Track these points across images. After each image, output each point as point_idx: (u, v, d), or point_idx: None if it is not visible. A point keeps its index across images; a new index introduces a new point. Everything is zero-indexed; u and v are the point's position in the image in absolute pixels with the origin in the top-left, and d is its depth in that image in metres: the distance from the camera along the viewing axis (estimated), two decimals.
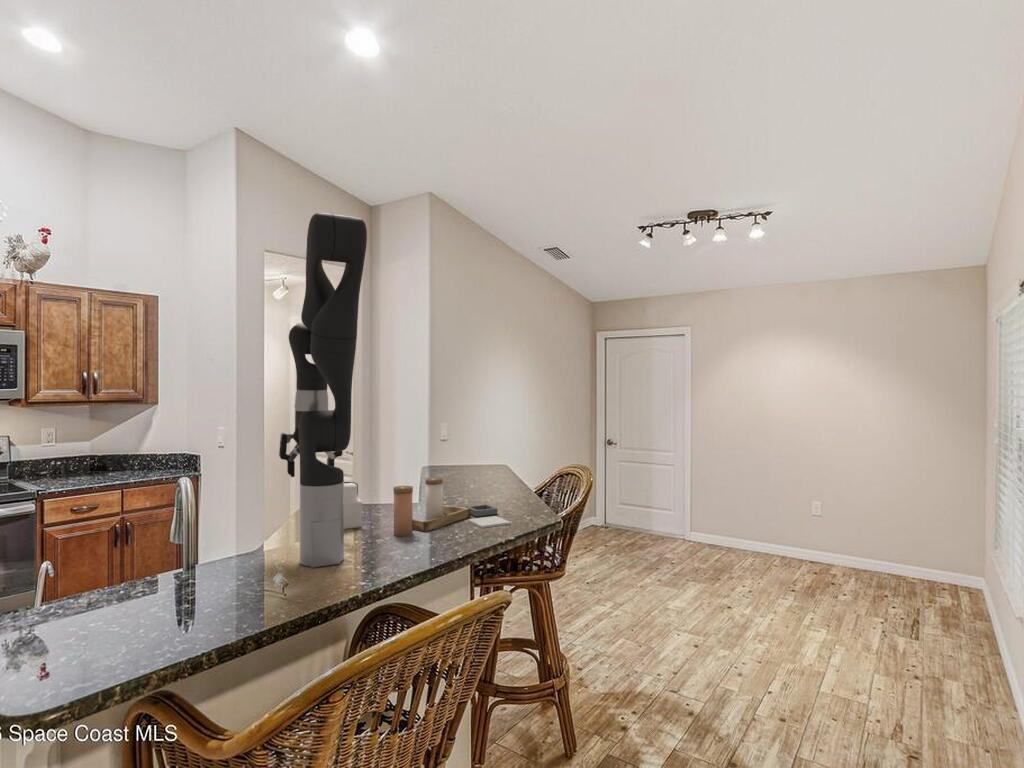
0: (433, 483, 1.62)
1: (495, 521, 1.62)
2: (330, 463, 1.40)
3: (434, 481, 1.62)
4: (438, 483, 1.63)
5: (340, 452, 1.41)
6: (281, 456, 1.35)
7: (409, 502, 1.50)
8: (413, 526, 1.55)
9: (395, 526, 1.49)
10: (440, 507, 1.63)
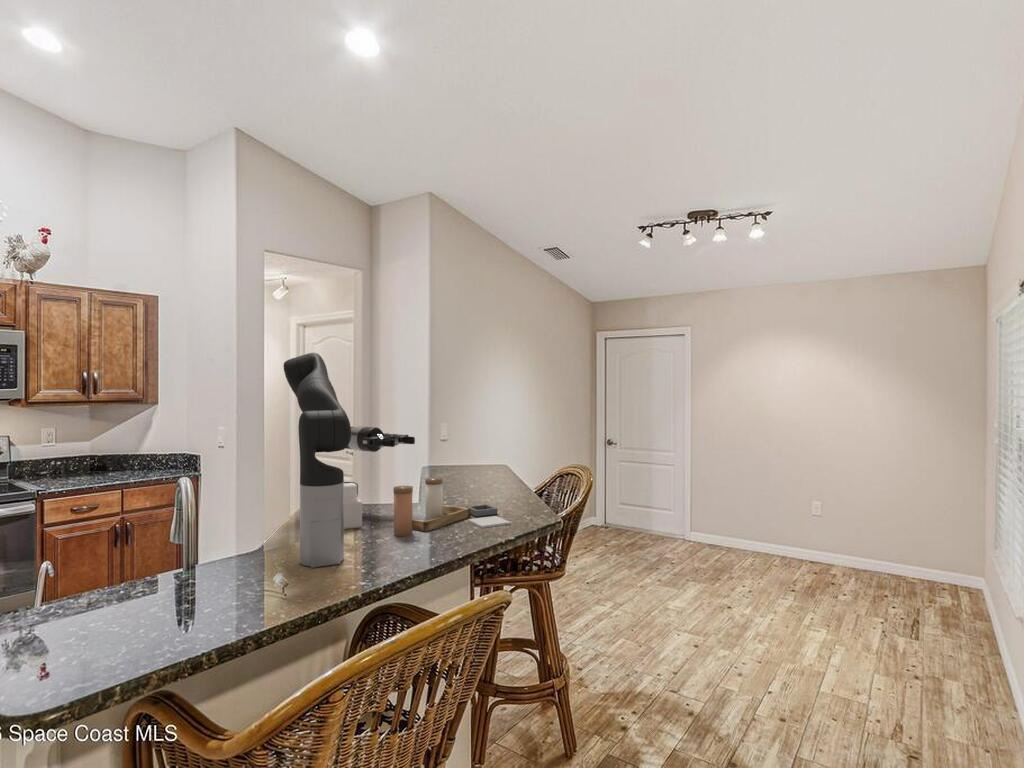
0: (433, 483, 1.62)
1: (495, 521, 1.62)
2: (407, 436, 1.76)
3: (434, 481, 1.62)
4: (438, 483, 1.63)
5: None
6: (374, 438, 1.67)
7: (409, 502, 1.50)
8: (413, 526, 1.55)
9: (395, 526, 1.49)
10: (440, 507, 1.63)
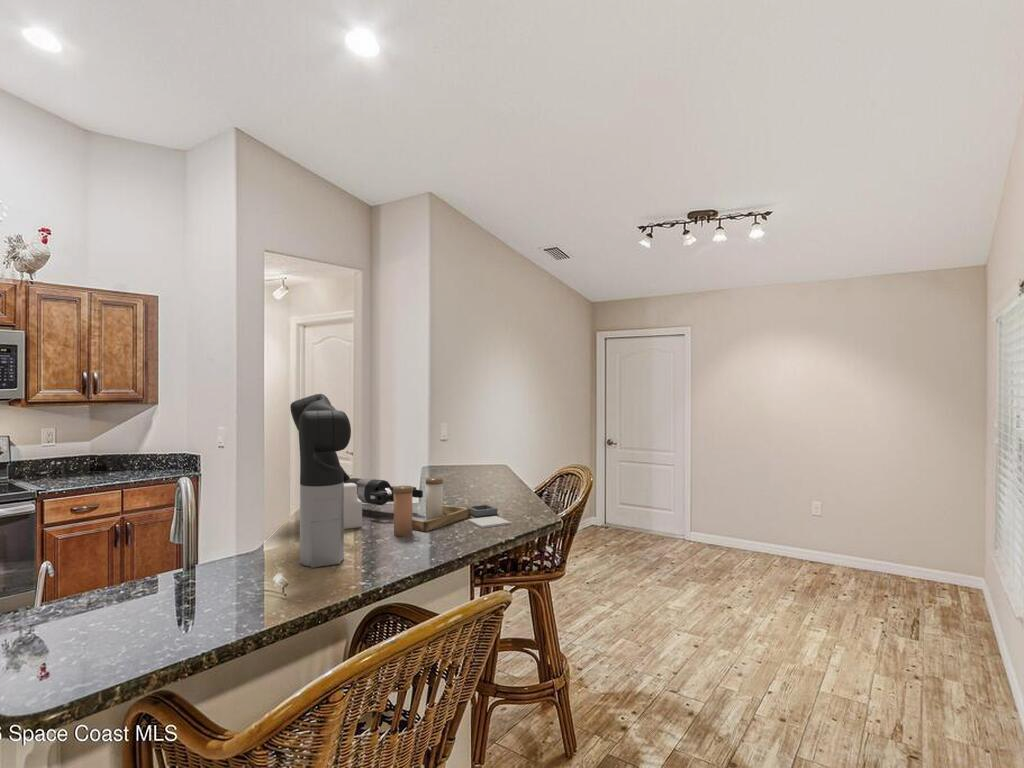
0: (433, 483, 1.62)
1: (495, 521, 1.62)
2: (415, 489, 1.74)
3: (434, 481, 1.62)
4: (438, 483, 1.63)
5: (413, 487, 1.77)
6: (382, 494, 1.66)
7: (409, 502, 1.50)
8: (413, 526, 1.55)
9: (395, 526, 1.49)
10: (440, 507, 1.63)
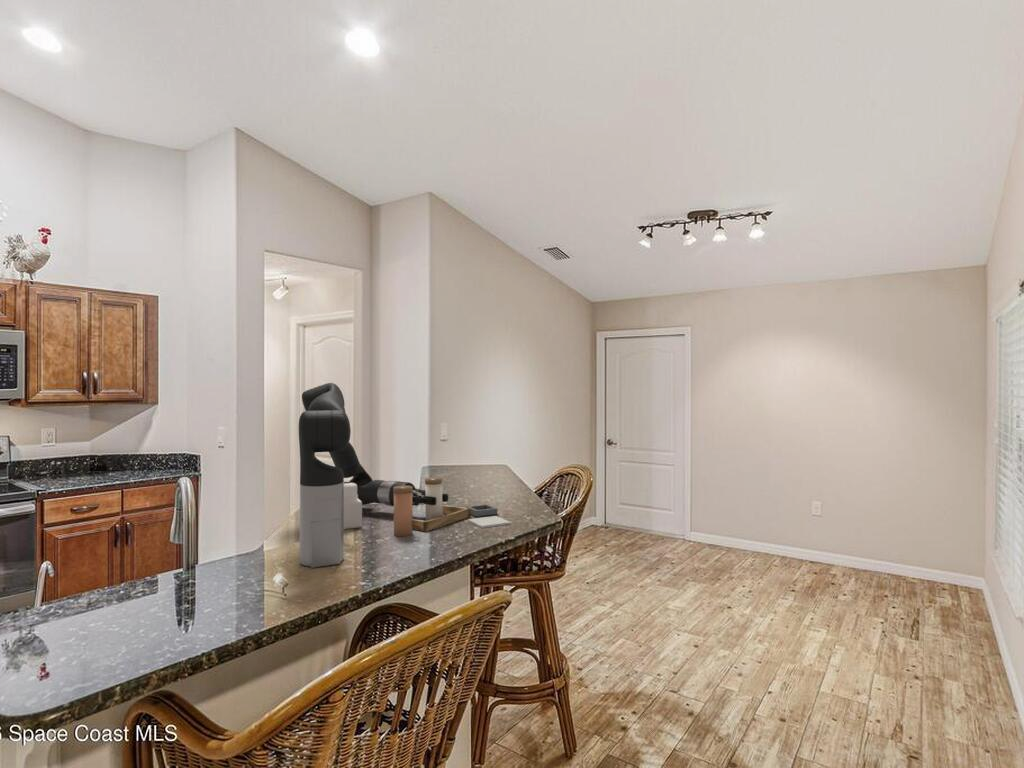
0: (433, 483, 1.62)
1: (495, 521, 1.62)
2: None
3: (434, 481, 1.62)
4: (438, 483, 1.63)
5: None
6: (415, 496, 1.61)
7: (409, 502, 1.50)
8: (413, 526, 1.55)
9: (395, 526, 1.49)
10: (440, 507, 1.63)
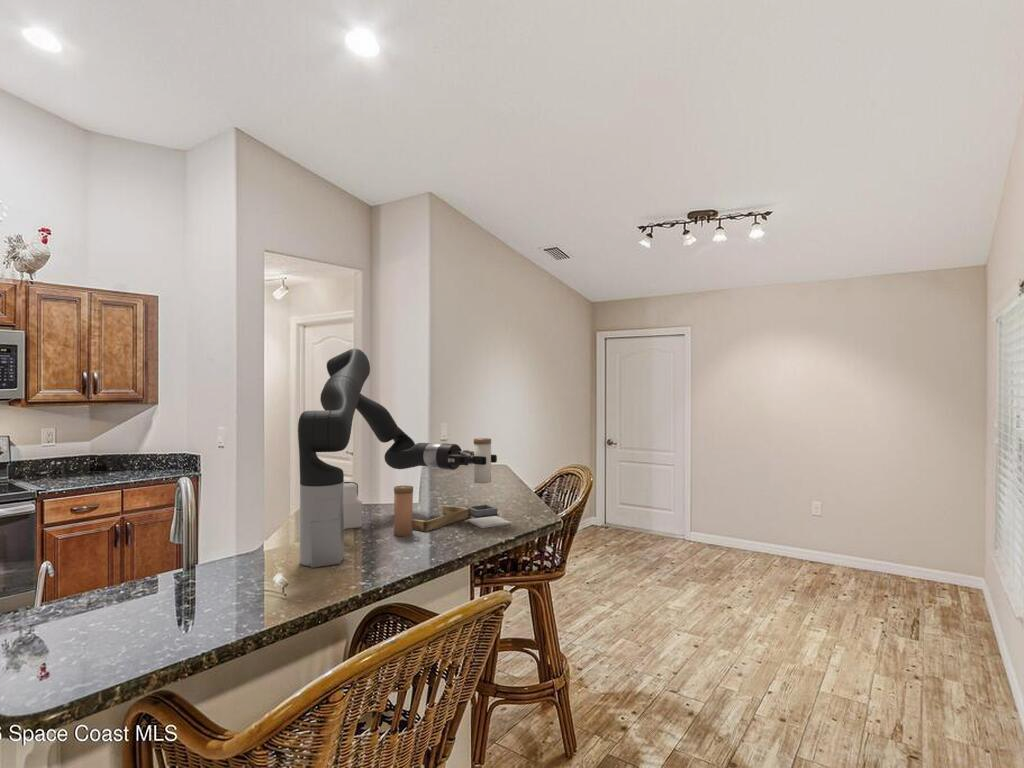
0: (482, 443, 1.61)
1: (495, 521, 1.62)
2: None
3: (483, 441, 1.61)
4: (487, 443, 1.62)
5: None
6: (465, 456, 1.60)
7: (410, 502, 1.50)
8: (413, 526, 1.55)
9: (395, 526, 1.49)
10: (489, 467, 1.62)
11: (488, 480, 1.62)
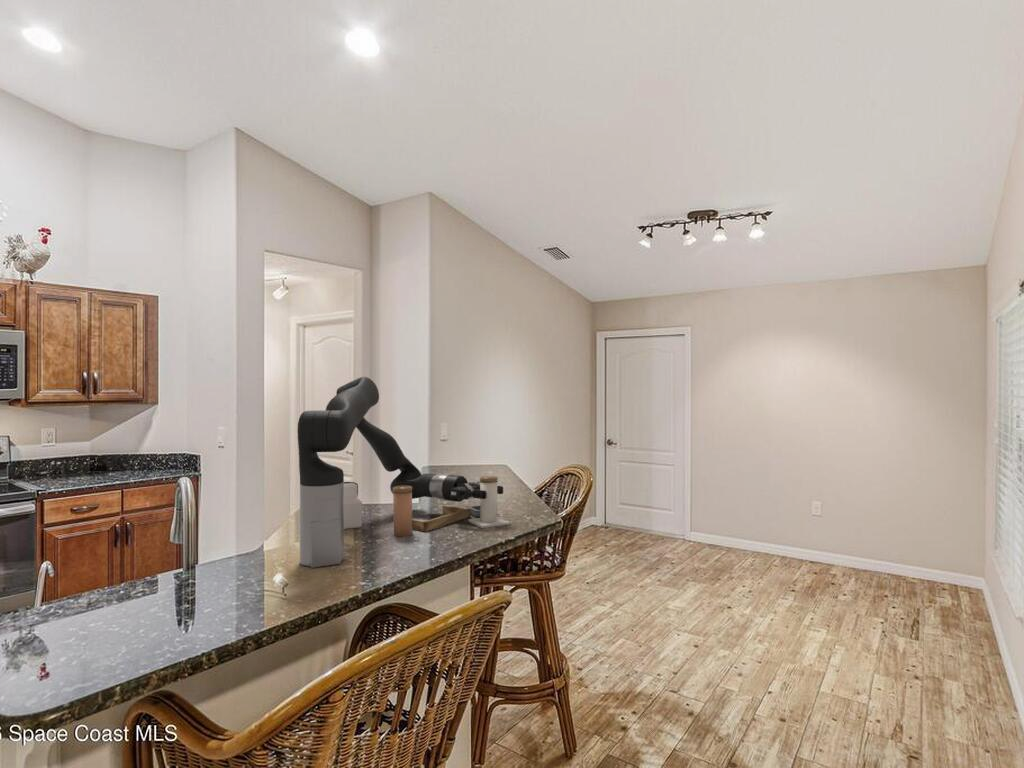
0: (489, 481, 1.61)
1: None
2: None
3: (490, 479, 1.61)
4: (494, 481, 1.61)
5: None
6: (465, 490, 1.59)
7: (409, 502, 1.50)
8: (413, 526, 1.55)
9: (395, 526, 1.49)
10: (495, 506, 1.62)
11: (494, 519, 1.61)
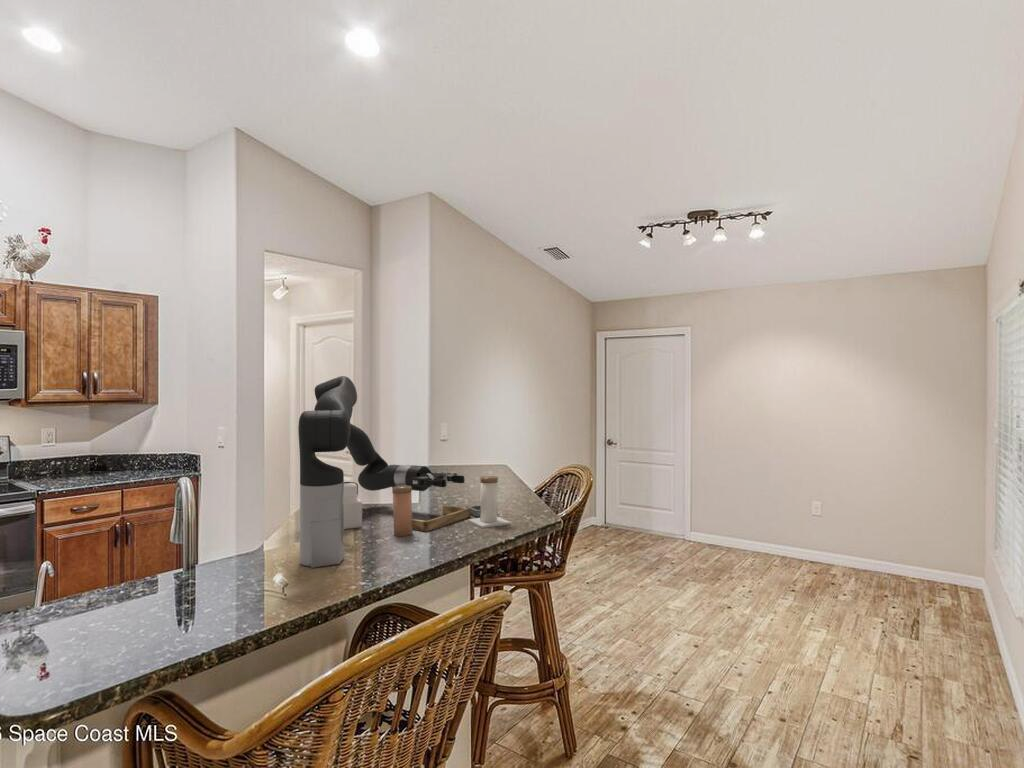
0: (489, 481, 1.60)
1: None
2: (456, 475, 1.73)
3: (490, 479, 1.60)
4: (494, 482, 1.61)
5: (454, 473, 1.76)
6: (425, 478, 1.64)
7: (409, 501, 1.50)
8: (413, 526, 1.55)
9: (395, 526, 1.49)
10: (495, 506, 1.62)
11: (494, 519, 1.61)
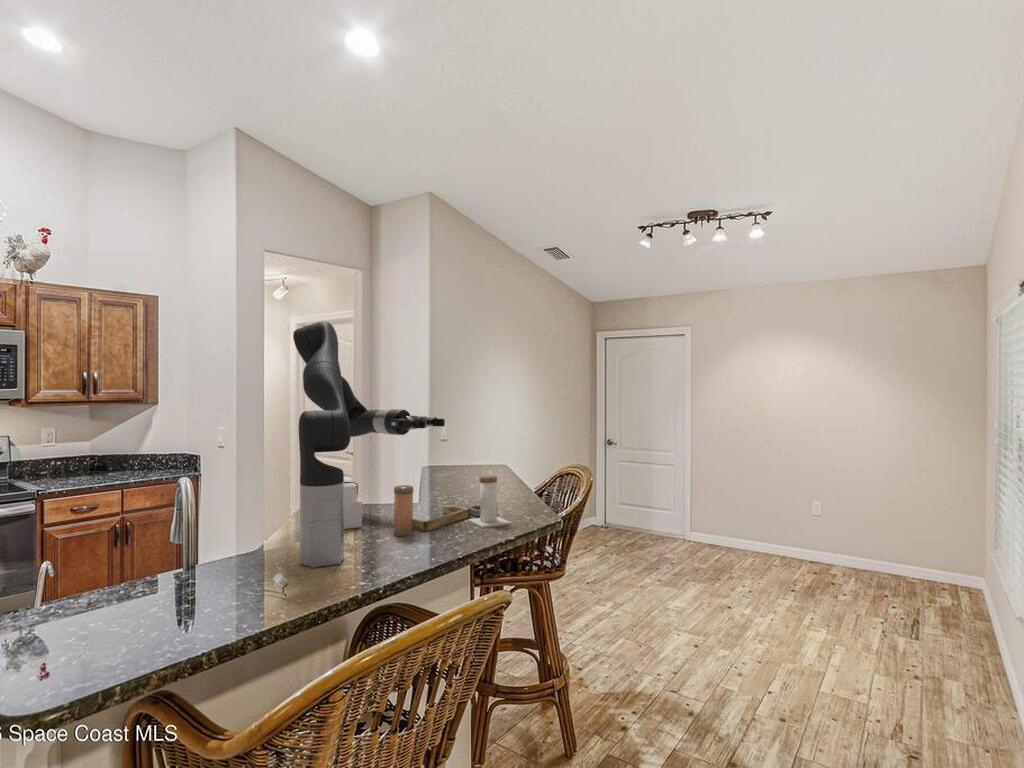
0: (488, 481, 1.61)
1: (495, 521, 1.62)
2: (436, 418, 1.69)
3: (489, 479, 1.61)
4: (493, 481, 1.61)
5: None
6: (404, 419, 1.61)
7: (410, 502, 1.50)
8: (413, 526, 1.55)
9: (396, 526, 1.49)
10: (495, 505, 1.62)
11: (494, 519, 1.61)
